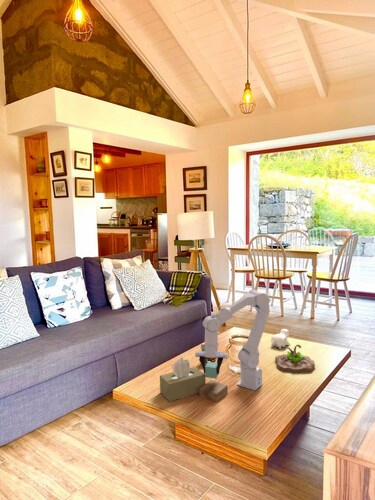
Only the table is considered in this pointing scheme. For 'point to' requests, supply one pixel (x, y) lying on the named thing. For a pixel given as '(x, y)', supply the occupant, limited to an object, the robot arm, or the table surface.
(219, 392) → the walnut block
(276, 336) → the white animal figurine
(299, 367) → the plant
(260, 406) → the table surface
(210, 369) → the teal cube
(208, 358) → the food container
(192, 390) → the tissue box
